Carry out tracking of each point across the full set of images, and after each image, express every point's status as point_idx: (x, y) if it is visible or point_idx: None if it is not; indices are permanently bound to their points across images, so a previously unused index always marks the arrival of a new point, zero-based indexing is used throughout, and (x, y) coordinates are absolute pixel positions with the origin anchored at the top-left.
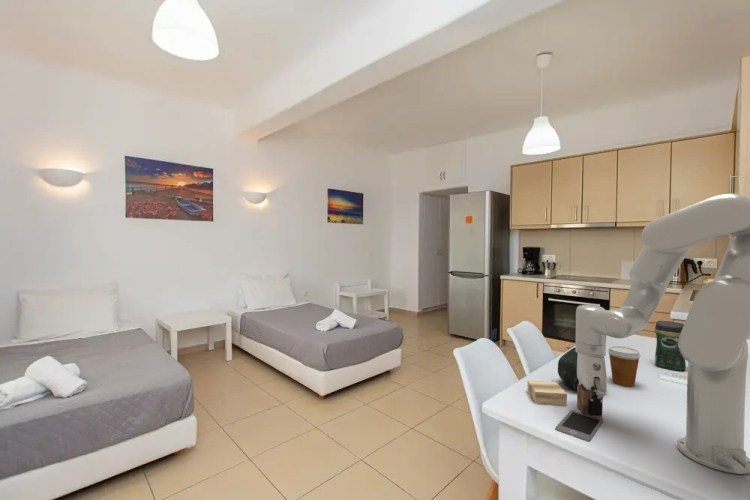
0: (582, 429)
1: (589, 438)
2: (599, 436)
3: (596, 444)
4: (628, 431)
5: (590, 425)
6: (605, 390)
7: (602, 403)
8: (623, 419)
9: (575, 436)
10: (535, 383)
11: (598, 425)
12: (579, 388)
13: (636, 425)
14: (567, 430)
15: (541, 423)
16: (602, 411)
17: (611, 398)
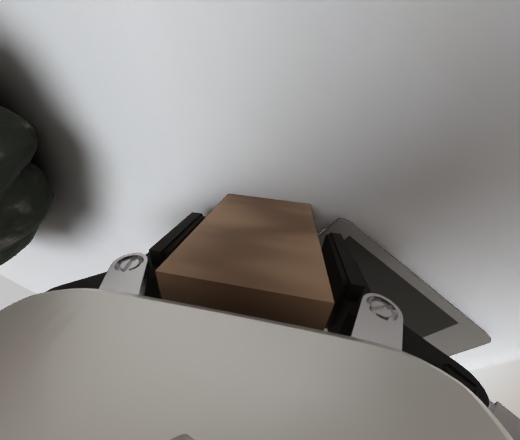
0: (412, 323)
1: (480, 334)
2: (466, 293)
3: (513, 326)
4: (468, 150)
5: (389, 289)
6: (495, 425)
7: (319, 242)
8: (328, 95)
9: (447, 353)
10: None
11: (392, 263)
12: None
13: (413, 43)
14: None
15: None
16: (312, 216)
17: (32, 6)
